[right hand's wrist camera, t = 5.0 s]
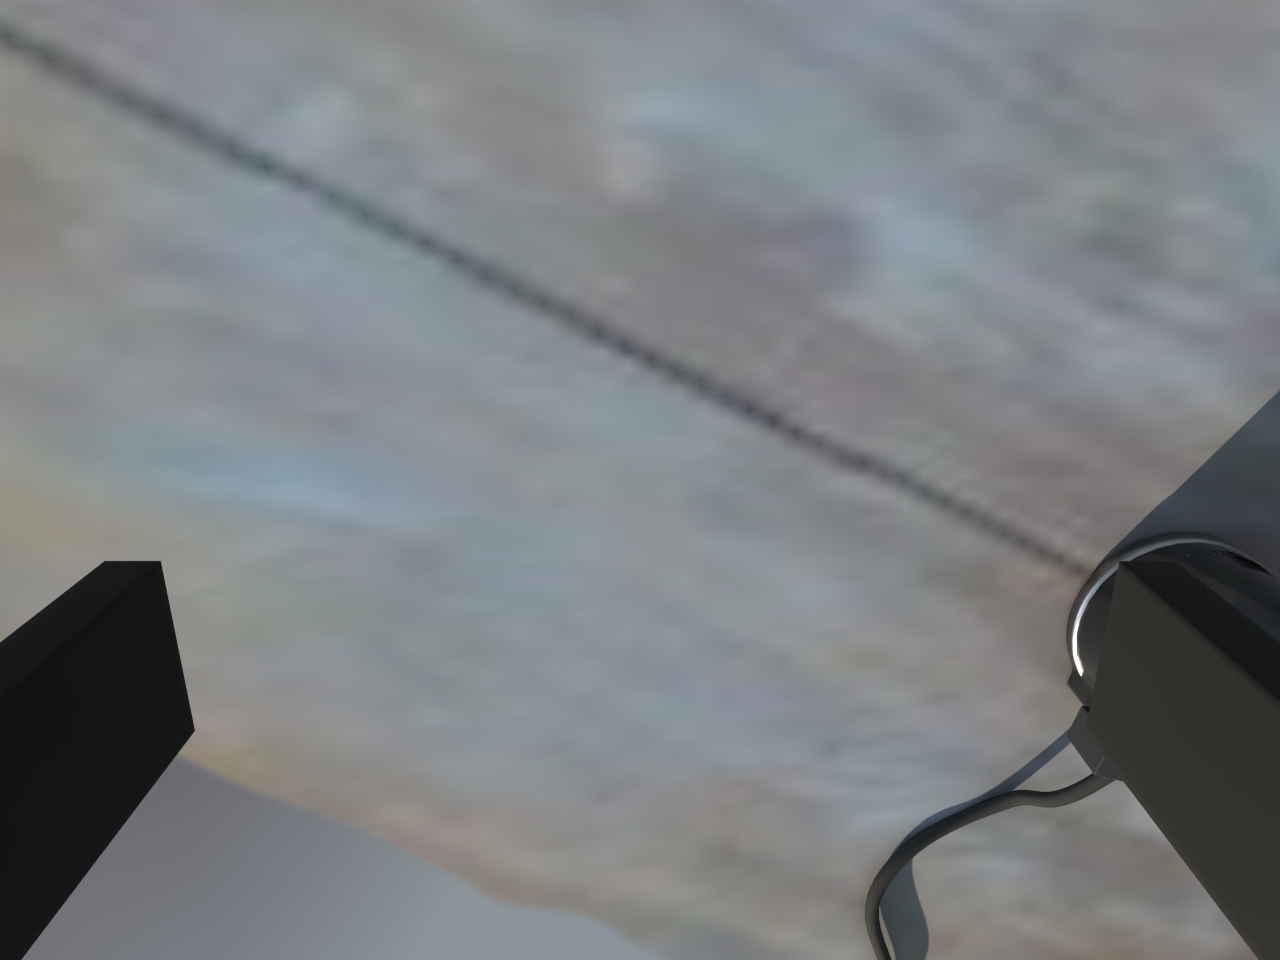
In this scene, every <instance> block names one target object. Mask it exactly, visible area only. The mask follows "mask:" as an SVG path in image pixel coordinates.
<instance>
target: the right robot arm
mask: <svg viewBox="0 0 1280 960" xmlns="http://www.w3.org/2000/svg"><path fill="white" fill-rule="evenodd" d="M194 731H195V729H194V724H193V719H192V714H191V709H190V704H189V699H188V694H187V689H186V684H185V679H184V674H183V669H182V664H181V660H180V655H179V650H178V645H177V640H176V635H175V630H174V625H173V620H172V615H171V610H170V605H169V600H168V595H167V590H166V585H165V580H164V575H163V570H162V565H161V561H104V562H103V563H102V564H100V565H99V566H98V567H97V568H95V569H94V570H93V571H91V572H90V573H89V574H88V575H86V576H85V577H84V578H82V579H81V580H80V581H79V582H77V583H76V584H75V585H73V586H72V587H71V588H70V589H68V590H67V591H66V592H64V593H63V594H62V595H61V596H59V597H58V598H57V599H56V600H54V601H53V602H52V603H50V604H49V605H48V606H47V607H45V608H44V609H43V610H41V611H40V612H39V613H38V614H36V615H35V616H34V617H32V618H31V619H30V620H29V621H27V622H26V623H25V624H23V625H22V626H21V627H20V628H18V629H17V630H16V631H14V632H13V633H12V634H11V635H9V636H8V637H7V638H6V639H4V640H3V641H2V642H0V960H21V959H22V958H23V957H24V955H25V954H26V953H27V951H28V950H29V949H30V948H31V946H32V945H33V944H34V942H35V941H36V940H37V938H38V937H39V936H40V934H41V933H42V932H43V930H44V929H45V928H46V926H47V925H48V924H49V922H50V921H51V920H52V918H53V917H54V916H55V914H56V913H57V912H58V911H59V909H60V908H61V907H62V905H63V904H64V903H65V901H66V900H67V899H68V897H69V896H70V895H71V893H72V892H73V891H74V889H75V888H76V887H77V885H78V884H79V883H80V882H81V880H82V879H83V878H84V876H85V875H86V874H87V872H88V871H89V870H90V868H91V867H92V866H93V864H94V863H95V862H96V860H97V859H98V858H99V856H100V855H101V854H102V853H103V851H104V850H105V849H106V847H107V846H108V845H109V843H110V842H111V841H112V839H113V838H114V837H115V835H116V834H117V833H118V831H119V830H120V829H121V827H122V826H123V825H124V824H125V822H126V821H127V820H128V818H129V817H130V816H131V814H132V813H133V812H134V810H135V809H136V808H137V806H138V805H139V804H140V802H141V801H142V800H143V798H144V797H145V796H146V795H147V793H148V792H149V791H150V789H151V788H152V787H153V785H154V784H155V783H156V781H157V780H158V779H159V777H160V776H161V775H162V773H163V772H164V771H165V769H166V768H167V767H168V765H169V764H170V763H171V762H172V760H173V759H174V758H175V756H176V755H177V754H178V752H179V751H180V750H181V748H182V747H183V746H184V744H185V743H186V742H187V740H188V739H189V738H190V736H191V735H192V734H193V733H194ZM1085 731H1086V733H1087V734H1088V735H1089V736H1090V738H1091V739H1092V740H1093V742H1094V743H1095V744H1096V746H1097V747H1098V748H1099V750H1100V751H1101V752H1102V754H1103V755H1104V756H1105V758H1106V759H1107V760H1108V762H1109V763H1110V764H1111V765H1112V767H1113V768H1114V769H1115V771H1116V772H1117V773H1118V775H1119V776H1120V777H1121V779H1122V780H1123V781H1124V783H1125V784H1126V785H1127V787H1128V788H1129V789H1130V791H1131V792H1132V793H1133V795H1134V796H1135V797H1136V798H1137V800H1138V801H1139V802H1140V804H1141V805H1142V806H1143V808H1144V809H1145V810H1146V812H1147V813H1148V814H1149V816H1150V817H1151V818H1152V820H1153V821H1154V822H1155V824H1156V825H1157V826H1158V827H1159V829H1160V830H1161V831H1162V833H1163V834H1164V835H1165V837H1166V838H1167V839H1168V841H1169V842H1170V843H1171V845H1172V846H1173V847H1174V849H1175V850H1176V851H1177V853H1178V854H1179V855H1180V857H1181V858H1182V859H1183V860H1184V862H1185V863H1186V864H1187V866H1188V867H1189V868H1190V870H1191V871H1192V872H1193V874H1194V875H1195V876H1196V878H1197V879H1198V880H1199V882H1200V883H1201V884H1202V886H1203V887H1204V888H1205V889H1206V891H1207V892H1208V893H1209V895H1210V896H1211V897H1212V899H1213V900H1214V901H1215V903H1216V904H1217V905H1218V907H1219V908H1220V909H1221V911H1222V912H1223V913H1224V915H1225V916H1226V917H1227V918H1228V920H1229V921H1230V922H1231V924H1232V925H1233V926H1234V928H1235V929H1236V930H1237V932H1238V933H1239V934H1240V936H1241V937H1242V938H1243V940H1244V941H1245V942H1246V944H1247V945H1248V946H1249V948H1250V949H1251V950H1252V951H1253V953H1254V954H1255V955H1256V957H1257V958H1258V959H1259V960H1280V642H1278V641H1277V640H1276V639H1274V638H1273V637H1272V636H1271V635H1269V634H1268V633H1267V632H1266V631H1264V630H1263V629H1262V628H1260V627H1259V626H1258V625H1257V624H1255V623H1254V622H1253V621H1251V620H1250V619H1249V618H1248V617H1246V616H1245V615H1244V614H1242V613H1241V612H1240V611H1239V610H1237V609H1236V608H1235V607H1233V606H1232V605H1231V604H1230V603H1228V602H1227V601H1226V600H1224V599H1223V598H1222V597H1221V596H1219V595H1218V594H1217V593H1216V592H1214V591H1213V590H1212V589H1210V588H1209V587H1208V586H1207V585H1205V584H1204V583H1203V582H1201V581H1200V580H1199V579H1198V578H1196V577H1195V576H1194V575H1192V574H1191V573H1190V572H1189V571H1187V570H1186V569H1185V568H1183V567H1182V566H1181V565H1180V564H1178V563H1177V562H1176V561H1119V565H1118V570H1117V575H1116V580H1115V585H1114V590H1113V595H1112V600H1111V605H1110V610H1109V615H1108V620H1107V625H1106V630H1105V635H1104V640H1103V645H1102V650H1101V655H1100V660H1099V664H1098V669H1097V674H1096V679H1095V684H1094V689H1093V694H1092V699H1091V704H1090V709H1089V714H1088V719H1087V724H1086V729H1085Z"/></svg>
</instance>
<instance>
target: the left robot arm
mask: <svg viewBox="0 0 1280 960" xmlns="http://www.w3.org/2000/svg"><path fill="white" fill-rule="evenodd" d="M1253 560H1254V559H1253ZM1253 560H1252V559H1251V557H1248V555H1246V554H1245V553H1243V552H1242V551H1240V550H1239V549H1237V548H1236V547H1234V546H1232V545H1230V544H1229V543H1227V542H1225V541H1222V540H1220V539H1217V538H1214V537H1211V536H1206V535H1202V534H1193V533H1177V534H1168V535H1162V536H1158V537H1153V538H1150V539H1147V540H1144V541H1141V542H1139V543H1136V544H1134V545H1132V546H1130V547H1128V548H1126V549H1124V550H1122V551H1121V552H1119V553H1118V554H1116V555H1114V556H1113V557H1112V558H1110V559H1109V560H1108V561H1106V562H1105V563H1104V564H1103V565H1102V566H1101V567H1099V568H1098V569H1097V570H1096V571H1095V572H1094V573H1093V574H1092V575H1091V577H1090V578H1089V579H1088V580H1087V582H1086V583H1085V584H1084V586H1083V587H1082V589H1081V590H1080V592H1079V593H1078V595H1077V597H1076V599H1075V601H1074V603H1073V606H1072V608H1071V611H1070V614H1069V618H1068V623H1067V630H1066V642H1067V649H1068V653H1069V657H1070V660H1071V662H1072V664H1073V666H1074V667H1073V671H1072V674H1071V676H1070V678H1069V680H1068V682H1067V684H1068V686H1069V688H1070V689H1071V690H1072V691H1073V693H1074V694H1075V695H1076V697H1077V698H1078V699H1079V700H1080V702H1081V703H1082V704H1083V705H1084V706H1082V707H1081V708H1080V710H1079V712H1078V714H1077V716H1076V718H1075V720H1074V722H1073V724H1072V726H1071V728H1070V730H1069V732H1068V734H1067V737H1068V739H1069V740H1070V741H1071V743H1072V744H1073V746H1074V747H1075V748H1076V750H1077V751H1078V753H1079V754H1080V755H1081V757H1082V758H1083V760H1084V761H1085V762H1086V764H1087V765H1088V766H1089V768H1090V769H1091V771H1092V772H1093V773H1092V774H1091V775H1089V776H1088V777H1086V778H1084V779H1082V780H1081V781H1079V782H1077V783H1075V784H1073V785H1071V786H1068V787H1066V788H1063V789H1060V790H1056V791H1052V792H1039V791H1031V790H1016V791H1011V792H1008V793H1005V794H1002V795H999V796H996V797H993V798H991V799H988V800H985V801H983V802H981V803H978V804H976V805H974V806H972V807H969V808H967V809H965V810H963V811H960V812H958V813H956V814H954V815H952V816H950V817H948V818H945V819H943V820H941V821H939V822H937V823H936V824H934V825H932V826H930V827H928V828H926V829H925V830H923V831H921V832H920V833H918V834H917V835H916V836H914V837H913V838H912V839H910V840H909V841H908V842H907V843H905V844H904V845H903V846H902V847H901V848H900V849H899V850H898V851H897V852H896V853H895V854H894V855H893V856H892V857H891V858H890V859H889V860H888V861H887V862H886V864H885V865H884V866H883V867H882V869H881V870H880V871H879V873H878V874H877V876H876V877H875V879H874V881H873V883H872V885H871V887H870V889H869V892H868V896H867V900H866V905H865V921H866V926H867V931H868V934H869V937H870V941H871V944H872V946H873V949H874V952H875V954H876V957H877V960H891V957H890V955H889V952H888V949H887V946H886V944H885V941H884V938H883V935H882V931H881V927H880V922H879V905H880V901H881V898H882V896H883V894H884V892H885V890H886V888H887V886H888V885H889V883H890V882H891V881H892V879H893V878H894V876H895V875H896V874H897V873H898V872H899V871H900V869H901V868H902V867H903V866H904V865H905V864H906V863H907V862H908V861H909V860H910V859H912V858H913V857H914V856H915V855H916V854H917V853H919V852H920V851H921V850H923V849H924V848H925V847H927V846H928V845H930V844H931V843H933V842H934V841H936V840H938V839H939V838H941V837H943V836H945V835H946V834H948V833H950V832H952V831H954V830H956V829H958V828H960V827H962V826H965V825H967V824H969V823H972V822H974V821H977V820H979V819H982V818H984V817H987V816H989V815H992V814H995V813H998V812H1001V811H1003V810H1006V809H1009V808H1012V807H1016V806H1020V805H1032V806H1039V807H1059V806H1064V805H1067V804H1070V803H1073V802H1076V801H1078V800H1081V799H1083V798H1085V797H1087V796H1089V795H1091V794H1093V793H1094V792H1096V791H1098V790H1100V789H1101V788H1103V787H1105V786H1106V785H1108V784H1110V783H1111V782H1113V781H1115V780H1119V781H1123V780H1122V779H1121V777H1120V776H1119V775H1118V773H1117V772H1116V771H1115V769H1114V768H1113V767H1112V765H1111V764H1110V763H1109V762H1108V760H1107V759H1106V758H1105V756H1104V755H1103V754H1102V752H1101V751H1100V750H1099V748H1098V747H1097V746H1096V744H1095V743H1094V742H1093V740H1092V739H1091V738H1090V736H1089V735H1088V734H1087V733H1086V731H1085V729H1086V724H1087V719H1088V714H1089V709H1090V704H1091V699H1092V694H1093V689H1094V684H1095V679H1096V674H1097V669H1098V664H1099V660H1100V655H1101V650H1102V645H1103V640H1104V635H1105V630H1106V625H1107V620H1108V615H1109V610H1110V605H1111V600H1112V595H1113V590H1114V585H1115V580H1116V575H1117V570H1118V565H1119V561H1176V562H1177V563H1178V564H1180V565H1181V566H1182V567H1183V568H1185V569H1186V570H1187V571H1189V572H1190V573H1191V574H1192V575H1194V576H1195V577H1196V578H1198V579H1199V580H1200V581H1201V582H1203V583H1204V584H1205V585H1207V586H1208V587H1209V588H1210V589H1212V590H1213V591H1214V592H1216V593H1217V594H1218V595H1219V596H1221V597H1222V598H1223V599H1224V600H1226V601H1227V602H1228V603H1230V604H1231V605H1232V606H1233V607H1235V608H1236V609H1237V610H1239V611H1240V612H1241V613H1242V614H1244V615H1245V616H1246V617H1248V618H1249V619H1250V620H1251V621H1253V622H1254V623H1255V624H1257V625H1258V626H1259V627H1260V628H1262V629H1263V630H1264V631H1266V632H1267V633H1268V634H1269V635H1271V636H1272V637H1273V638H1274V639H1276V640H1277V641H1278V642H1280V580H1278V579H1277V578H1275V577H1274V576H1272V575H1271V574H1270V573H1269V572H1268V571H1267V570H1265V569H1263V567H1261V566H1260V565H1258V564H1257V563H1256V562H1257V561H1256V562H1255V561H1253ZM1258 563H1259V562H1258ZM1259 564H1260V563H1259ZM1261 565H1262V564H1261ZM1262 566H1263V565H1262ZM1264 567H1265V566H1264ZM1265 568H1266V567H1265ZM1267 569H1268V568H1267ZM1270 571H1271V570H1270ZM1273 573H1274V572H1273ZM1276 575H1277V574H1276ZM1279 577H1280V576H1279ZM1123 782H1124V781H1123Z"/></svg>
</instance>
